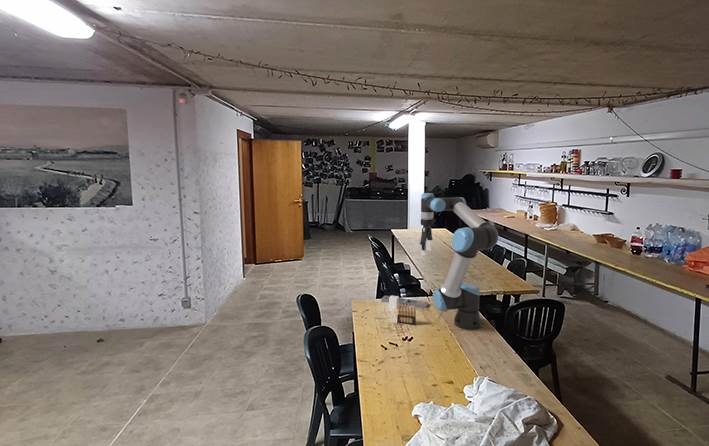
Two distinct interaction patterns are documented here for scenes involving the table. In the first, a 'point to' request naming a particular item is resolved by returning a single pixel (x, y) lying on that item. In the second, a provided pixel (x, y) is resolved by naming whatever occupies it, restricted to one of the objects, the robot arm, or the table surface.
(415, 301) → the strip
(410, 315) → the ammunition clip
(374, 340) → the table surface
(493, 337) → the table surface
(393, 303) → the charger
